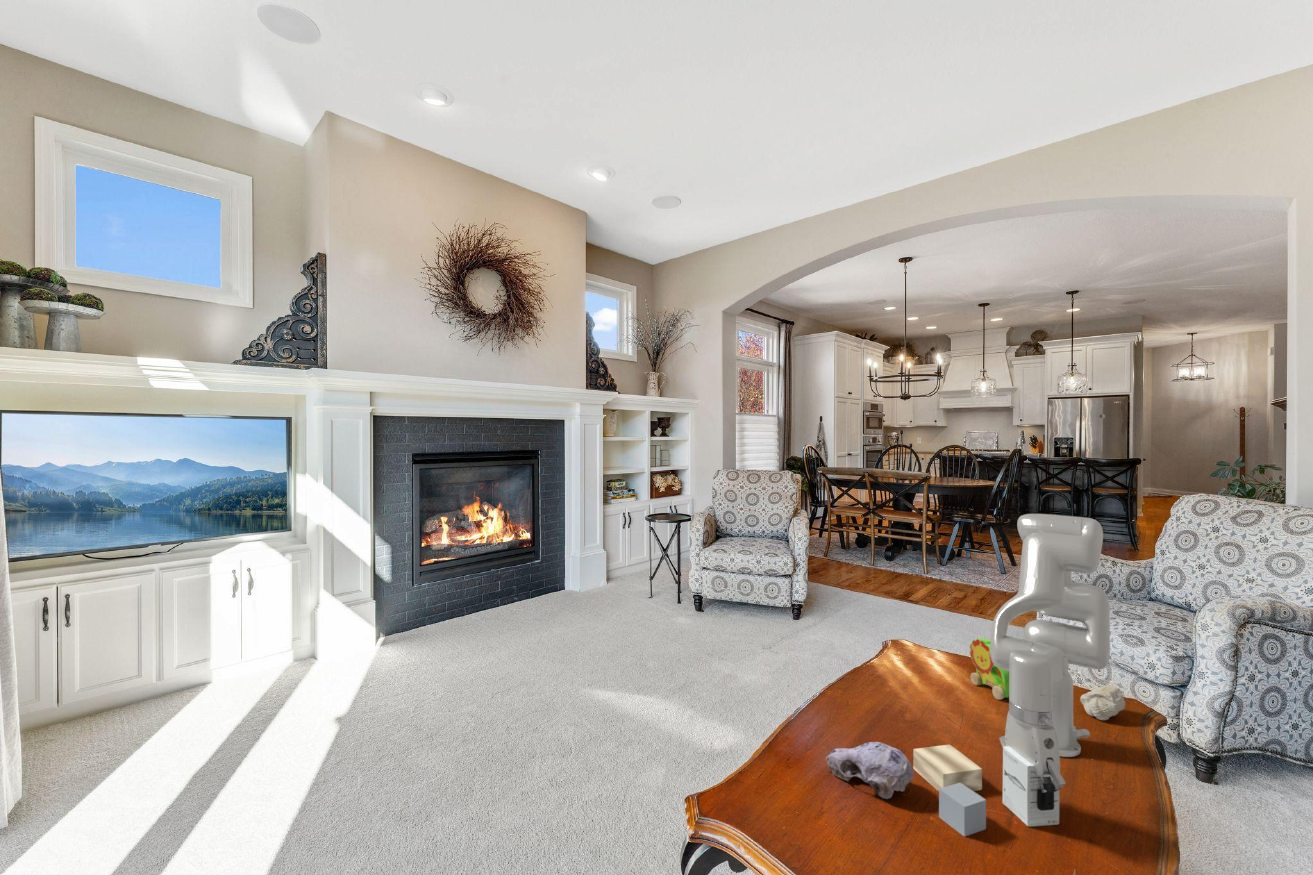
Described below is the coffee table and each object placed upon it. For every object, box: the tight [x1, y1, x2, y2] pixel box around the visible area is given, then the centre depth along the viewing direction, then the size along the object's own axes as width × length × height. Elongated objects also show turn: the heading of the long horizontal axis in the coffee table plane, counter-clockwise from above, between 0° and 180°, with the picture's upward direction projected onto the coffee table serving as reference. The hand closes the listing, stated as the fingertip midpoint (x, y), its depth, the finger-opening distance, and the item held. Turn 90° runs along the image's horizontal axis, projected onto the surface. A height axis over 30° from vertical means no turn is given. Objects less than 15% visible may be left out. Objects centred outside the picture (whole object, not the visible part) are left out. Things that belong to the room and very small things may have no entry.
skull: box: [825, 741, 914, 800], centre depth 126 cm, size 19×12×10 cm, turn 38°
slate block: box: [938, 783, 987, 838], centre depth 112 cm, size 6×6×6 cm
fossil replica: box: [1079, 686, 1126, 721], centre depth 156 cm, size 12×8×10 cm
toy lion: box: [969, 637, 1009, 701], centre depth 172 cm, size 16×5×15 cm, turn 6°
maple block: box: [912, 744, 983, 792], centre depth 127 cm, size 10×10×5 cm
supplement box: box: [1002, 746, 1060, 827], centre depth 115 cm, size 7×7×13 cm
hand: (1030, 795), depth 115 cm, fingers closed on supplement box, 7 cm apart
